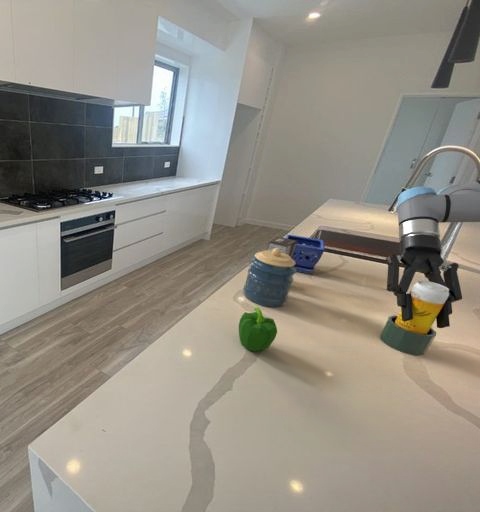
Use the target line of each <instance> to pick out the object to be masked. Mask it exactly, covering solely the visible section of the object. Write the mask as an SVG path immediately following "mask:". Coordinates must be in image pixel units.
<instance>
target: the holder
mask: <svg viewBox="0 0 480 512" xmlns="http://www.w3.org/2000/svg"><path fill="white" fill-rule="evenodd" d="M397 317H398V315H390V316H388V318H387V320H386V322H385V324H384V325H383V328H382V330H381V332H380V335H379V339H380V341H382V342H383V344H385V345H386V346H388V347H390V348H392V349H394V350H396V351H398V352H401V353H403V354H408V355H412V356H424V355H425V354H426V352H428V350H429V348H430V346H431V344H432V343H433V341H434V340H435V338H436V337H437V331H436V330H434V329H433V328H432V327H431V328H430V330H429V331H428V333H427V335H423V334H418V333H414V332H411V331H408V330H406V329H404V328H401V327H399V326H398V325H396V324H395V321H396V319H397Z"/></svg>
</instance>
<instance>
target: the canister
mask: <svg viewBox="0 0 480 512" xmlns="http://www.w3.org/2000/svg"><path fill="white" fill-rule="evenodd" d="M249 262H250V267H249V268H248V269H247V275H246V279H245V283H244V285H243V289H242V290H243V295H244V297H245V298H246V299H248V300H249V301H250V302H253V303H254V304H258V305H259V306H260V305H261V306H264V307H269V308H279V307H282V306H284V305H285V304H286V302H287V301H288V299H289V293H290V290H291V287H292V284H293V282H294V275H295V274H297V271H296V268H295V267H294V265H295V264H296V263H295V261H294V260H293V259H292V258H291V257H290V256H289V255H287V254H284V253H282V251H281V249H279V248H274V249H273V250H272V251H271V250H267V249H264V250H261V251H257V252H256V253H255V254H254V257H253V258H252V259H250V261H249Z"/></svg>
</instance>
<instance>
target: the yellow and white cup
mask: <svg viewBox="0 0 480 512" xmlns="http://www.w3.org/2000/svg"><path fill="white" fill-rule="evenodd" d="M409 294H411V296H412V310H413V319H412V320H408V321H402V313H401V310H399V313H398V315H397V316H398V317H397V319H396V321H395V324H396V325H398V326H399V327H401V328H404V329H406V330H408V331H411V332H414V333H418V334H423V335H427V333H428V331H429V330H430V328H432V326H433V325H434V322H435V321H436V317H437V316H438V314H439V312H440V310H441V308H442V307H443V305H444V303H445V301H446V300H447V298H448V296H449V289H448V288H447V287H445V286H443V285H440V284H437V283H433V282H429V280H418V281H417V282H415V283H414V284H413V285H412V287H411V290H410V291H409Z"/></svg>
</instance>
